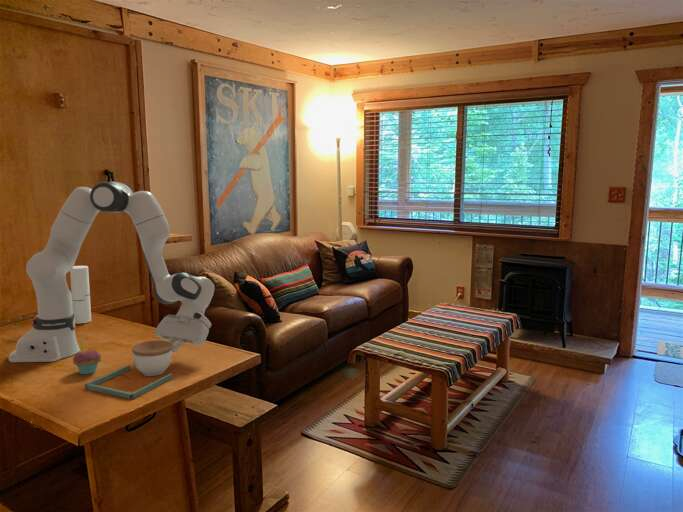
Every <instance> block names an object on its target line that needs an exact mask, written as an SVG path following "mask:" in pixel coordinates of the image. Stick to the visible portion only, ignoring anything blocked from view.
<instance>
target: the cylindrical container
mask: <svg viewBox="0 0 683 512" xmlns="http://www.w3.org/2000/svg"><path fill="white" fill-rule="evenodd" d="M69 272H70V275H69V276H70V289H71V290H70V292H71V294H72V309H73V314H74V318H75V323H87V322H90V321H91V322H92V311H91V310H92V308H91V307H92V306H91V295H90V294H91V293H90V291H91V289H90V288H91V287H90V273H89V266H88V265H74V266H73V268H72V269H71V271H69Z"/></svg>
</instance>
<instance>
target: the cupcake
mask: <svg viewBox="0 0 683 512" xmlns="http://www.w3.org/2000/svg"><path fill="white" fill-rule="evenodd" d="M79 346H80V351H79V352H78V353H76V354H74V355H73V356H74V357H73V358H72V364H73V365H74V366H76V367H77V369H78V371H79V373H80V374H81V375H90V374H93V373H95V372H96V370H97V367H98V364H99V363H100V362H102V355H101V354H100V353H99V352H98V351H95V350H93V349H91V350H90V349H89V350H84V345H83V341H82V340H81V339H79Z"/></svg>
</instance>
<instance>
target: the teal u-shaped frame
mask: <svg viewBox="0 0 683 512" xmlns="http://www.w3.org/2000/svg"><path fill="white" fill-rule="evenodd" d="M128 370H129V371H130V370H131V365H130V364H128V365H125V366H123V367H121V368H119V369H116V370H114V371H112V372H110V373H107V374H105V375H103V376H101V377H98V378H96V379H94V380H91V381H90V382H87V383H85V384H84V385H85V389H86V390H91V391H93V392H98V393H103V394H106V395H107V394H108V395H112V396H115V397H120V398H123V399H127V400H134V399H136V398H138V397H140V396H141V395H144V394H146V393H147V392H149V391H152V390H154V389H155V388H156V387H159V386H160V384H161V385H162V383H163V384H164V383H166V382H168V381H170V380H172V379H173V375H174V374H173V373H169V374H167V375H165V376H162V377H160V378H159V379H157V380H155V381H153V382H151V383H149V384H147V385H146V386H143V387H142V388H139V389H137V390H135V391H134V392H129V391H128V392H127V391H123V390H120V389H119V390H118V389H113V388H110V387H107V386H101V385H100V384H102V383H104V382H107V381H109V380H111V379H113V378H115V377H118V376H119V374H120V375H122V374H124V373H126V372H128ZM117 375H118V376H117ZM112 377H113V378H112ZM110 378H111V379H110ZM108 379H109V380H108ZM106 380H107V381H106ZM143 393H144V394H143Z"/></svg>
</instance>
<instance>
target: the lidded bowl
mask: <svg viewBox="0 0 683 512" xmlns="http://www.w3.org/2000/svg"><path fill="white" fill-rule="evenodd" d="M131 348H132V350H131V352H132V360H133V363H134V365H135V368H136V369H137V371H139V372H140V373H142V375H143V376H145V377H157V376H160V375H163V374H164V373H165V371H166V370H167V369H168V368H169V366H170V364H171V363H172V359H173V357H172V356H173V352H172V344H171V343H170V342H169V341H167V340H153V339H152V340H148V341H142V342H139V343H137V344H135V345H134V346H132V347H131Z"/></svg>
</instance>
